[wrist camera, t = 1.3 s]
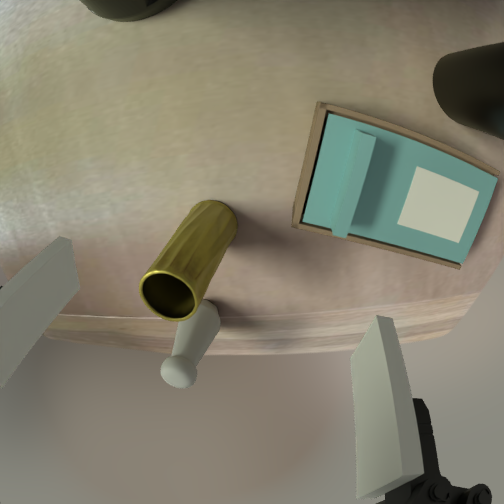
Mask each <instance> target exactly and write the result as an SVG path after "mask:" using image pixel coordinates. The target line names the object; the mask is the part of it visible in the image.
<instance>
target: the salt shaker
mask: <svg viewBox="0 0 504 504" xmlns="http://www.w3.org/2000/svg"><path fill="white" fill-rule="evenodd" d="M220 324H221V320H220V318H219V315H218V310H217V307H216V306H215V305H214V304H212V303H211V302H209V301H208V300H206V299H205V300H202V301H201V303H200V305H199V307H198V310H197V311H196V313H195V314H194V315H193V316H192V317H190V318H189V319H187V320H185V321H180V322H179V323H178V328H177V332H176V337H175V342H174V347H173V351H172V355H171V356H170V357H168V358H167V359H166V360H165V361H164V362H163V364H162V366H161V376H162V377H163V379H164V380H165V381H166V382H167V383H168V384H170V385H172V386H174V387H177V388H188V387H190V386H192V385H193V384H194V383H195V381H196V377H197V369H196V366H197V364H198V363H199V361H200V360H201V358H202V357H203V355H204V354H205V352H206V350H207V349H208V347H209V346H210V344H211V343H212V341H213V339H214V338H215V336H216V335H217V333H218V332H219V329H220Z"/></svg>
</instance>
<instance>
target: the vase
mask: <svg viewBox="0 0 504 504" xmlns="http://www.w3.org/2000/svg"><path fill="white" fill-rule="evenodd" d="M236 233H237V221H236V218H235V216H234V214H233V212H232V211H231V210H230V209H229V208H228V207H227V206H226V205H224V204H222V203H220V202H218V201H213V200H207V201H202V202H200V203H198V204H196V205H195V206H194V207H193V208H192V209H191V211H190V213H189V214H188V215H187V217H186V218H185V219H184V220H183V222H182V223H181V224H180V226H179V227H178V229H177V230H176V232H175V233H174V235H173V236H172V237H171V239H170V240H169V242H168V243H167V245H166V246H165V247H164V249H163V250H162V252H161V253H160V254H159V256H158V257H157V259H156V260H155V261H154V263H153V264H152V265H151V267H150V268H149V269H148V271H147V272H146V273H145V275H144V276H143V277H142V278H141V280H140V283H139V293H140V296H141V298H142V300H143V302H144V304H145V305H146V306H147V307H148V308H149V309H150V310H151V311H152V312H153V313H154V314H156V315H157V316H159V317H161V318H163V319H165V320H169V321H176V322H180V321H185V320H187V319H189V318H190V317H192V316H193V315H194V314H195V313H196V311H197V310H198V307H199V305H200V303H201V301H202V299H203V297H204V295H205V292H206V290H207V288H208V286H209V283H210V281H211V279H212V277H213V275H214V274H215V272H216V270H217V268H218V266H219V264H220V262H221V260H222V258H223V256H224V254H225V252H226V250H227V248H228V246H229V244H230V242H231V241H232V240H233V239H234V237H235V236H236Z"/></svg>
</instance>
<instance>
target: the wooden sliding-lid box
mask: <svg viewBox="0 0 504 504" xmlns="http://www.w3.org/2000/svg"><path fill="white" fill-rule="evenodd" d="M328 113H330V114H334V115H337V116H341V117H345V118H348V119H352V120H355V121H358V122H362V123H365V124H368V125H372V126H375V127H378V128H381V129H384V130H387V131H390V132H393V133H395V134H398V135H401V136H404V137H407V138H409V139H412V140H415V141H417V142H420V143H422V144H425V145H427V146H430V147H432V148H435V149H437V150H439V151H442V152H444V153H446V154H449V155H451V156H453V157H455V158H458V159H460V160H462V161H464V162H466V163H468V164H470V165H473V166H475V167H477V168H479V169H481V170H483V171H485V172H487V173H489V174H490V175H492V176H494V175H495V174H496V175H498V176H499V173H500V171H498V170H496V169H494V168H492V167H491V166H489V165H487V164H485V163H483V162H481V161H479V160H477V159H475V158H473V157H471V156H469V155H467V154H465V153H463V152H461V151H459V150H456V149H454V148H452V147H450V146H448V145H445V144H443V143H441V142H439V141H436V140H434V139H431V138H429V137H427V136H424V135H422V134H419V133H417V132H414V131H411V130H409V129H406V128H403V127H401V126H398V125H395V124H392V123H389V122H387V121H384V120H381V119H378V118H374V117H371V116H368V115H365V114H362V113H358V112H355V111H352V110H348V109H345V108H341V107H337V106H334V105H330V104H326V103H322V102H317V104H316V108H315V113H314V118H313V122H312V127H311V131H310V136H309V140H308V145H307V149H306V154H305V158H304V162H303V167H302V171H301V175H300V180H299V184H298V188H297V192H296V197H295V201H294V205H293V212H292V227H293V228H297V229H302V230H306V231H311V232H315V233H319V234H323V235H328V236H332V237H336V238H340V239H344V240H348V241H352V242H357V243H361V244H365V245H369V246H373V247H377V248H381V249H384V250H388V251H392V252H396V253H400V254H404V255H408V256H411V257H415V258H419V259H423V260H426V261H430V262H434V263H437V264H441V265H445V266H448V267H452V268H455V269H459V270H460V268H461V265H460V263H459V262H455V261H452V260H448V259H445V258H441V257H438V256H434V255H431V254H427V253H424V252H420V251H416V250H413V249H409V248H405V247H402V246H398V245H394V244H391V243H387V242H383V241H379V240H375V239H371V238H367V237H364V236H360V235H356V234H352V233H348V234H347V237H346V238H343V237H338V236H334V235H333V233H332V229H331V228H327V227H323V226H319V225H314V224H310V223H306V222H303V215H304V212H305V208H306V204H307V200H308V196H309V192H310V188H311V184H312V180H313V176H314V172H315V168H316V164H317V160H318V155H319V151H320V147H321V143H322V138H323V134H324V130H325V125H326V121H327V117H328Z"/></svg>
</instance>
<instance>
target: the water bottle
mask: <svg viewBox="0 0 504 504" xmlns="http://www.w3.org/2000/svg"><path fill="white" fill-rule="evenodd" d="M433 88H434V93H435V96H436V99H437V101H438V103H439V105H440V107H441V108H442V110H443V111H444V112H445V113H446V114H447V115H448V116H449V117H450V118H451V119H452V120H454V121H456V122H458V123H460V124H463V125H466V126H469V127H472V128H474V129H477V130H480V131H483V132H485V133H488V134H490V135H493V136H495V137H498V138H500V139H503V140H504V42H502V43H497V44H491V45H486V46H481V47H476V48H472V49H467V50H463V51H459V52H455V53H451V54H448V55H445V56H444V57H442V58H441V59H440V60H439V62H438V63H437V65H436V67H435V69H434V73H433Z"/></svg>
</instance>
